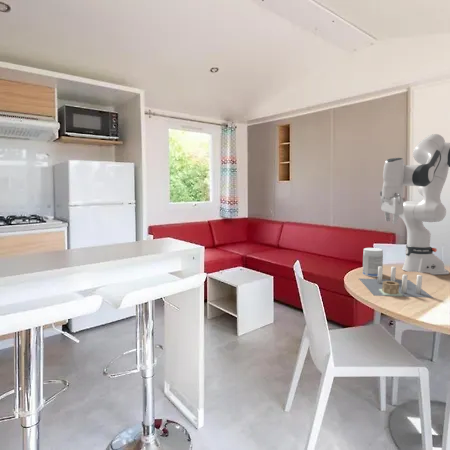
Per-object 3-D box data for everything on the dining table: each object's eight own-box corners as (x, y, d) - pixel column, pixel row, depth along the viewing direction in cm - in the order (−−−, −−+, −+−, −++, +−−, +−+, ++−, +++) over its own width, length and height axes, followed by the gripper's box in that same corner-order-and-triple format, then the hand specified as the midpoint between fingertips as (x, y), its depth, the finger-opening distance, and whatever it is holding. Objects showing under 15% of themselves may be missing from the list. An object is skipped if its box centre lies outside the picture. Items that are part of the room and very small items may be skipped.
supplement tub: (385, 277, 177) (387, 249, 176) (375, 280, 172) (376, 251, 170) (369, 273, 185) (370, 246, 184) (358, 275, 180) (359, 248, 178)
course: (408, 282, 168) (410, 264, 167) (433, 300, 142) (434, 279, 141) (358, 280, 171) (359, 263, 170) (373, 298, 146) (374, 277, 144)
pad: (396, 290, 151) (396, 289, 151) (402, 296, 144) (402, 294, 144) (378, 290, 153) (378, 288, 152) (384, 295, 145) (384, 294, 145)
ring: (395, 289, 151) (395, 281, 150) (400, 294, 145) (400, 285, 144) (381, 289, 152) (381, 280, 151) (385, 293, 146) (385, 284, 145)
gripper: (408, 193, 147) (406, 225, 149) (392, 192, 167) (390, 219, 169) (393, 194, 148) (391, 225, 150) (378, 192, 168) (377, 219, 170)
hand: (390, 222), depth 160 cm, fingers open, 8 cm apart
